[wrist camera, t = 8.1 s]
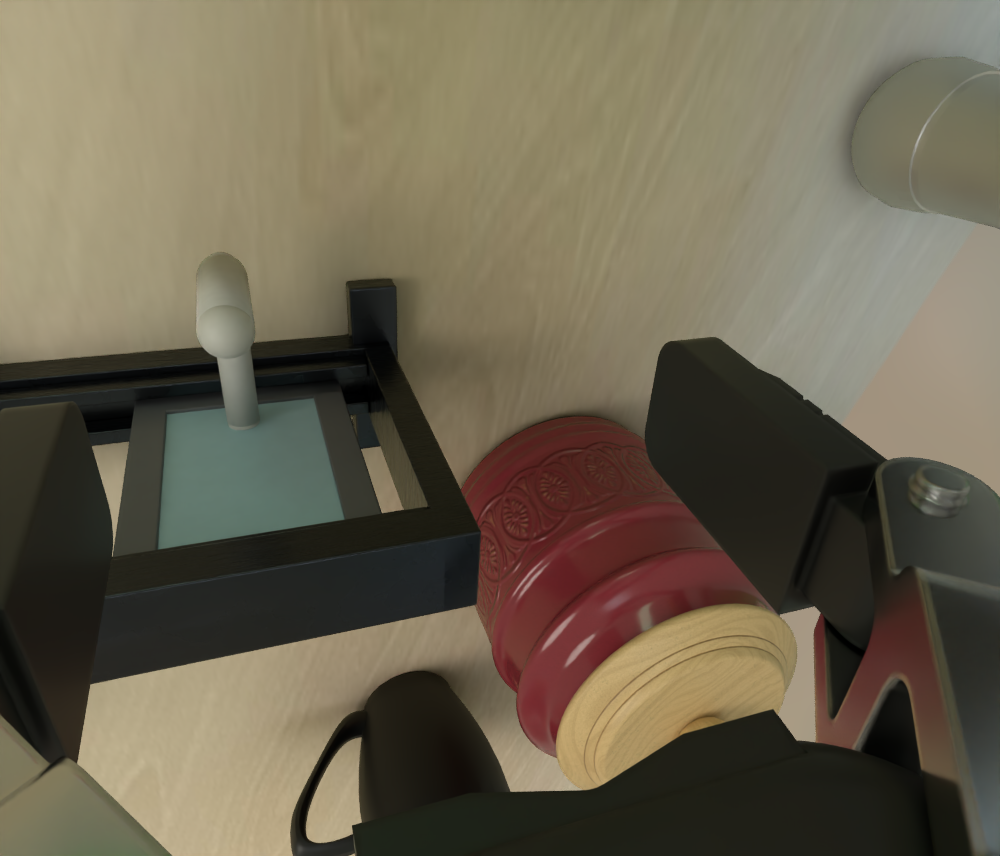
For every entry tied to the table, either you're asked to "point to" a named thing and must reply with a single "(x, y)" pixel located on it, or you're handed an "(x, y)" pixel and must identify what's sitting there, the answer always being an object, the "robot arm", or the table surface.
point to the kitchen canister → (613, 601)
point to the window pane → (238, 443)
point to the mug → (405, 756)
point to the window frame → (288, 552)
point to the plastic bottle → (934, 140)
